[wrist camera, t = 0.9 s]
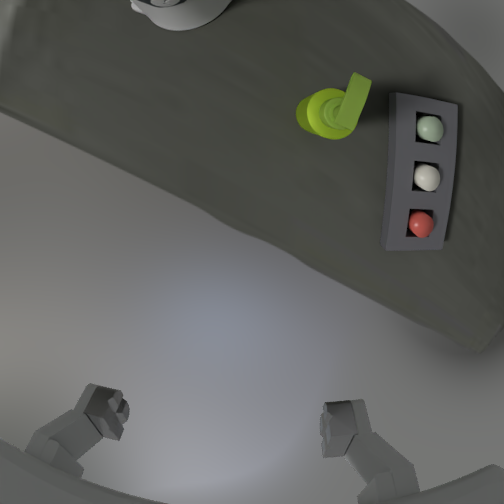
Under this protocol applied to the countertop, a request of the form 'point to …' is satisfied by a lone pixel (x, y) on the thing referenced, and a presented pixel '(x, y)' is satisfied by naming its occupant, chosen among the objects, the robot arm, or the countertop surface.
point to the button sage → (429, 128)
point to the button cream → (426, 177)
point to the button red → (420, 223)
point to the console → (402, 168)
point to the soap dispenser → (334, 109)
